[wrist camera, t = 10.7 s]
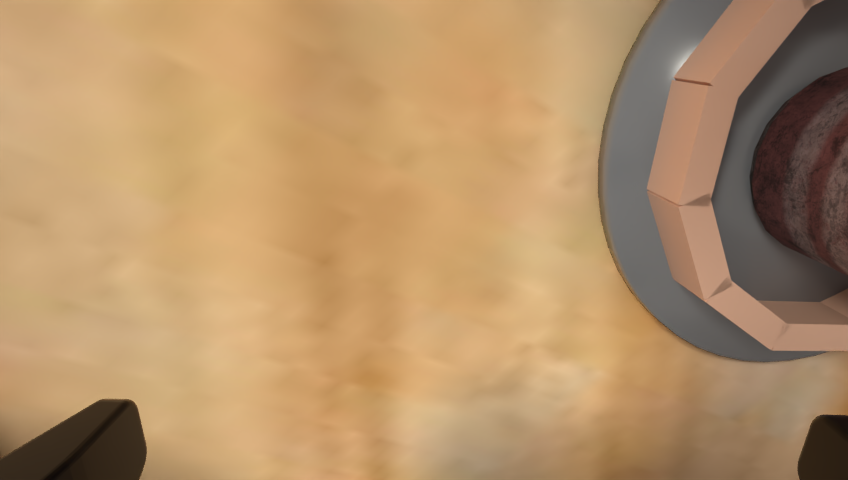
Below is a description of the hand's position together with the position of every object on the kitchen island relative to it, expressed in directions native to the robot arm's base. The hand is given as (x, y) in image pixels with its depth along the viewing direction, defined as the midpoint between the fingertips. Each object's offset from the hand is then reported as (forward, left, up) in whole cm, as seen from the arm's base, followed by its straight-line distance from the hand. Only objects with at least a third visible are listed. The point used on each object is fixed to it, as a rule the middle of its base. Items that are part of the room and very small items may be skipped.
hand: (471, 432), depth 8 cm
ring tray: (+14, -5, -11) cm, 19 cm away
